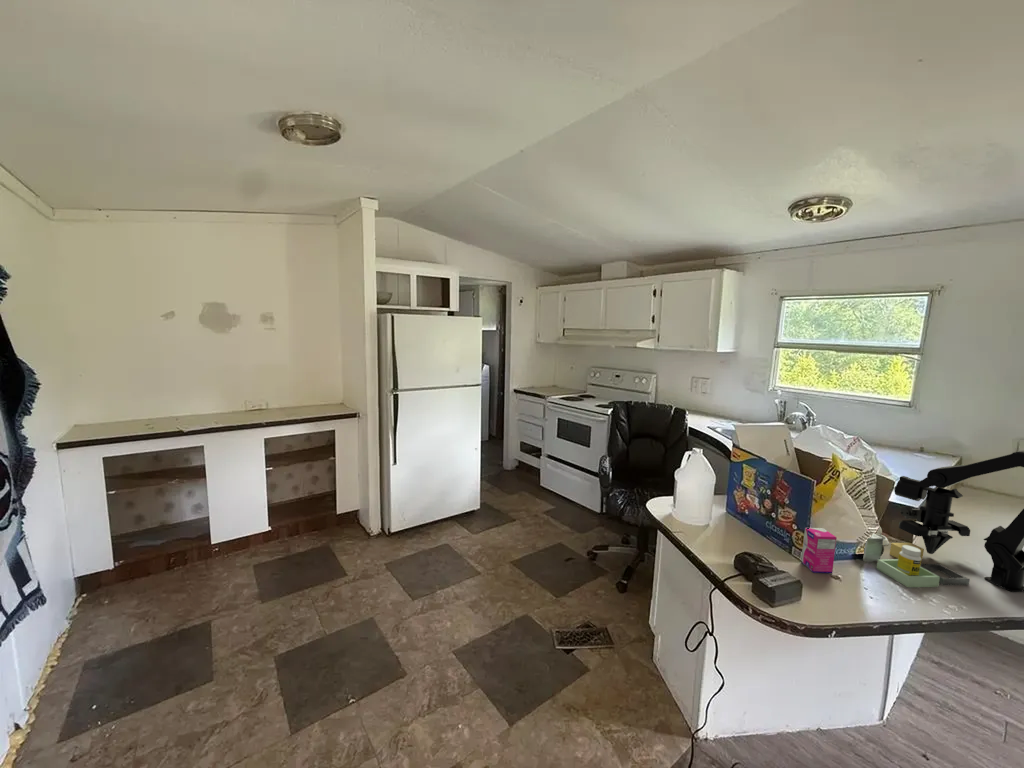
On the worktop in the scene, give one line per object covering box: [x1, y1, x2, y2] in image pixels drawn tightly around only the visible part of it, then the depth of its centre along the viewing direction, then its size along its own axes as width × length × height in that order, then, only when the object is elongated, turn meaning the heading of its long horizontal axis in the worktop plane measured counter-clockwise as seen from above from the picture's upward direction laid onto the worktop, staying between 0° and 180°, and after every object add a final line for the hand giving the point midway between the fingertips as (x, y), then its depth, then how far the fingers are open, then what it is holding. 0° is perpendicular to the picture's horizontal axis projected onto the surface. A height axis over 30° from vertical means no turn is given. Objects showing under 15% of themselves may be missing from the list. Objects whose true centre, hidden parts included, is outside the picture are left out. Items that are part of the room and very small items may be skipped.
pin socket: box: [920, 563, 971, 586], centre depth 125 cm, size 8×8×2 cm
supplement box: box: [800, 527, 837, 574], centre depth 127 cm, size 6×6×12 cm
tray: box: [876, 558, 940, 588], centre depth 124 cm, size 9×9×3 cm
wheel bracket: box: [862, 534, 885, 563], centre depth 134 cm, size 7×5×9 cm, turn 95°
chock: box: [889, 542, 925, 562], centre depth 136 cm, size 7×4×4 cm, turn 95°
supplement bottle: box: [897, 545, 922, 576], centre depth 124 cm, size 5×5×8 cm
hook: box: [876, 525, 890, 546], centre depth 148 cm, size 8×12×7 cm
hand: (929, 553), depth 137 cm, fingers closed
